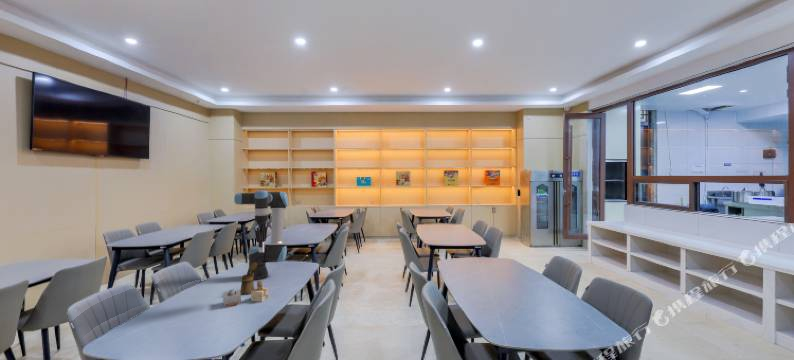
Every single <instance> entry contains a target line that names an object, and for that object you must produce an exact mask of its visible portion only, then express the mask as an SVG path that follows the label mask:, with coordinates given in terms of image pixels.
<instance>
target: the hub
mask: <svg viewBox="0 0 794 360" xmlns="http://www.w3.org/2000/svg"><path fill="white" fill-rule="evenodd" d="M235 291H236V290H235V289H234V288H233V289H229V290H228V292H229V295H235ZM239 303H240V302H235V303H230V304H224V306H225V307H232V306H233V307H234V306H237V305H238V304H239Z"/></svg>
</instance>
